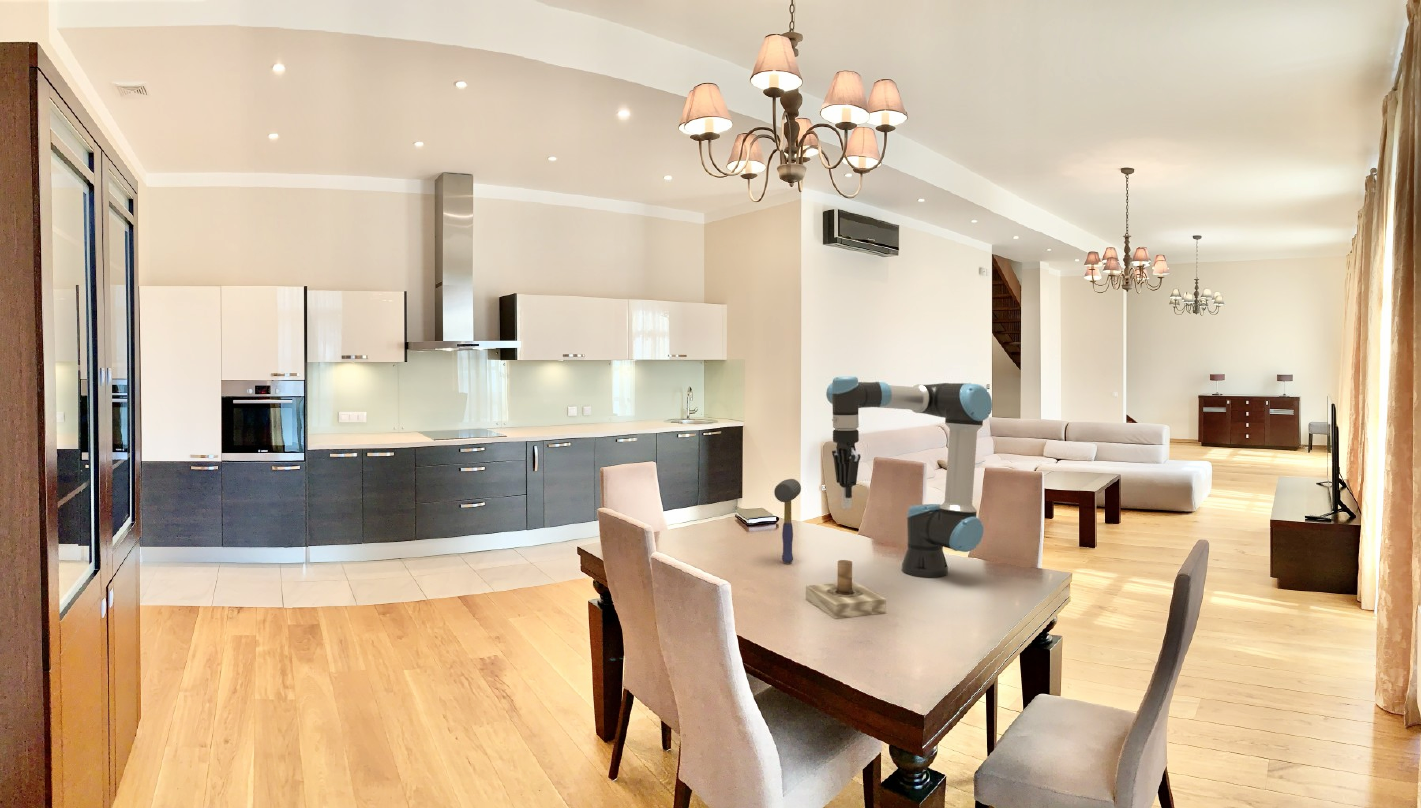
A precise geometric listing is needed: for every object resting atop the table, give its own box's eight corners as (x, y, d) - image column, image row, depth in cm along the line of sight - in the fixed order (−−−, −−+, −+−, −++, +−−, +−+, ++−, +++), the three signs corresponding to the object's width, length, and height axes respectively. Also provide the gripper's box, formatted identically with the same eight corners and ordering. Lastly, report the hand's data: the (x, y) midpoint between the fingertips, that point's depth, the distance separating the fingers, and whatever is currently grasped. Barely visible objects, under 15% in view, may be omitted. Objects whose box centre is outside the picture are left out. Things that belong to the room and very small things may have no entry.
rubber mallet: (793, 568, 264) (793, 482, 263) (772, 566, 267) (772, 481, 266) (802, 560, 276) (802, 478, 275) (782, 558, 279) (782, 476, 277)
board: (853, 594, 234) (853, 581, 234) (885, 612, 216) (885, 598, 216) (805, 598, 229) (805, 585, 229) (835, 618, 211) (835, 604, 211)
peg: (847, 602, 226) (848, 559, 225) (854, 607, 221) (855, 563, 221) (834, 604, 224) (834, 560, 224) (841, 608, 220) (841, 564, 219)
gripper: (823, 428, 229) (824, 505, 230) (845, 431, 217) (846, 513, 218) (845, 426, 232) (846, 503, 233) (868, 430, 219) (869, 511, 221)
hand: (846, 508), depth 225 cm, fingers closed
